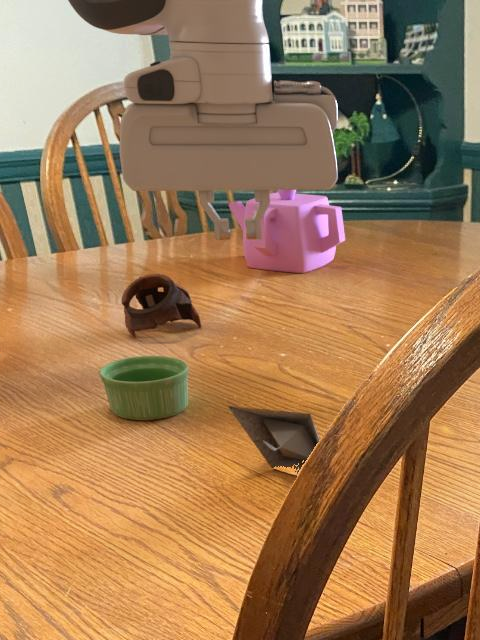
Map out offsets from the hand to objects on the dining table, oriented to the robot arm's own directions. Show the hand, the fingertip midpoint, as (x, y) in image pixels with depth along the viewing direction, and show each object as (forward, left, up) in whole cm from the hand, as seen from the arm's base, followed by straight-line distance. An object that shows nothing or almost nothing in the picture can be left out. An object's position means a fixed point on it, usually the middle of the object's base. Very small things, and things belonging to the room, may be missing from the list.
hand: (238, 238), depth 91 cm
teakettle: (+9, +69, -17) cm, 72 cm away
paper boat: (+2, -19, -17) cm, 26 cm away
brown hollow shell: (-11, +30, -17) cm, 36 cm away
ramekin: (-11, 0, -17) cm, 21 cm away
